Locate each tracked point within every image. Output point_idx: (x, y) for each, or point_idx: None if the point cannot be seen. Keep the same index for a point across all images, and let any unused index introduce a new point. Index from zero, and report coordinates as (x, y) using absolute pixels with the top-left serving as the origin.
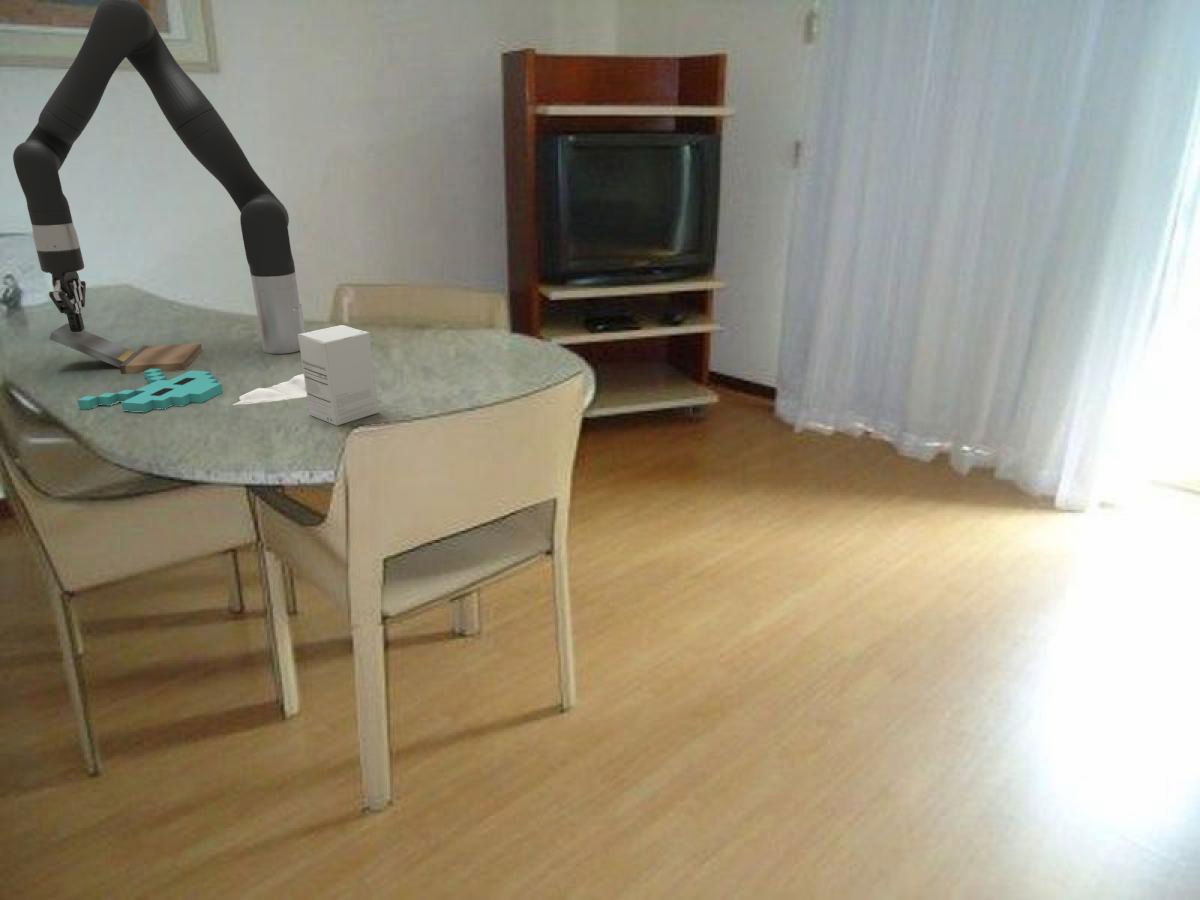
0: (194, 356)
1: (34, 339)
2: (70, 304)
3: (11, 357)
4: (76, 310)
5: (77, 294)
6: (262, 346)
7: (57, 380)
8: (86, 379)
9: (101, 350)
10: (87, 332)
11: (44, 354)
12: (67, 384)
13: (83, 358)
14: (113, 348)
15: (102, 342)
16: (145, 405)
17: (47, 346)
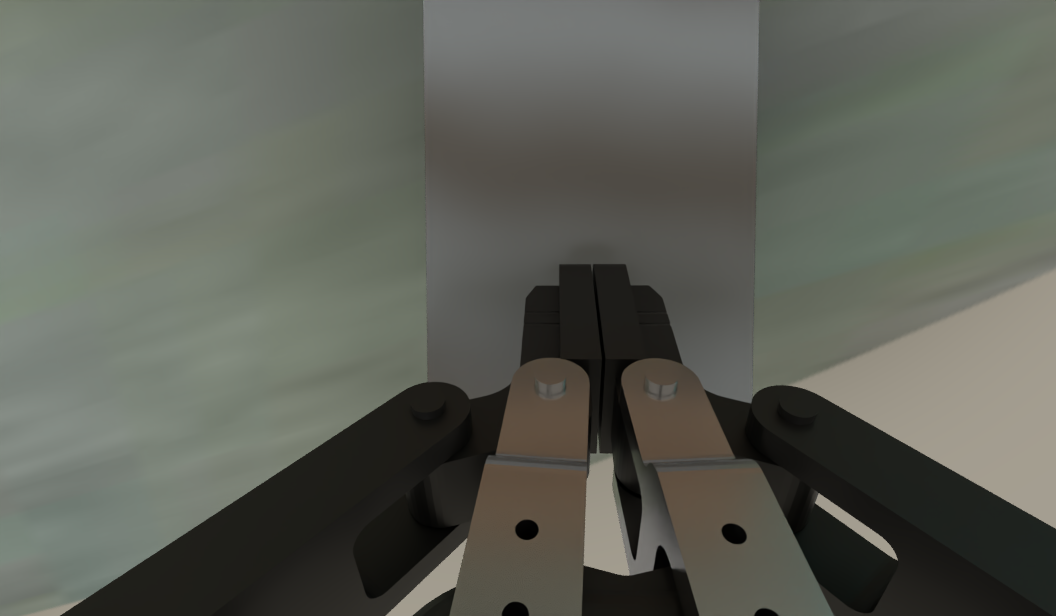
0: None
1: (87, 535)
2: (915, 488)
3: None
4: (703, 393)
5: (682, 562)
6: None
7: (844, 236)
8: (909, 72)
9: (711, 50)
10: (445, 260)
11: (314, 440)
12: (974, 152)
13: (391, 258)
14: (554, 3)
15: (524, 108)
16: None
17: (181, 468)
